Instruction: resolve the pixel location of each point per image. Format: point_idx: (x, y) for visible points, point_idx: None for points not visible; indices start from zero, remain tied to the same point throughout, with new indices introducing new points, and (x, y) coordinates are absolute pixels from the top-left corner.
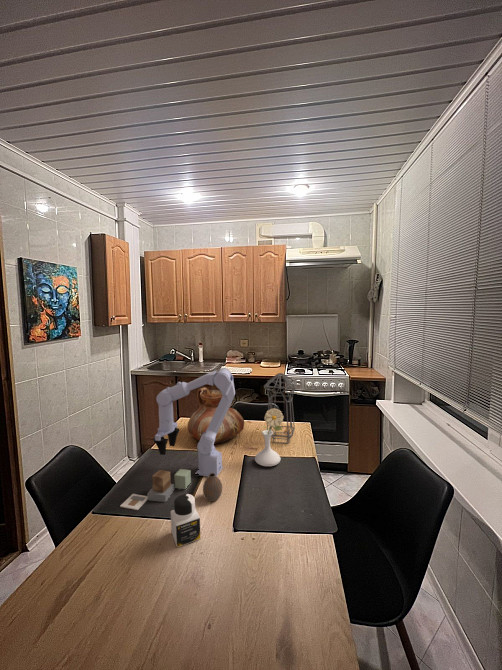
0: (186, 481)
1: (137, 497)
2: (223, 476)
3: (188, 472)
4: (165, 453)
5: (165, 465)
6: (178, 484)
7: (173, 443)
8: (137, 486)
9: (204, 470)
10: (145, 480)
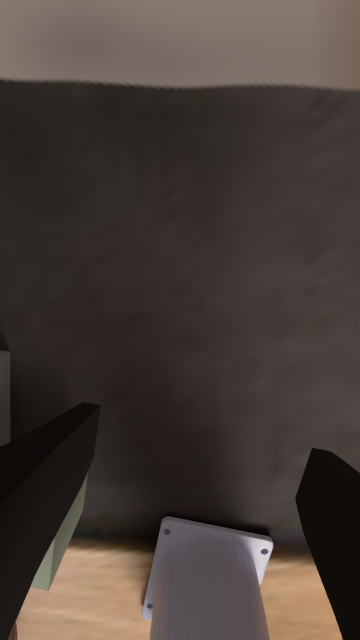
0: None
1: None
2: None
3: None
4: (87, 467)
5: (276, 309)
6: None
7: (311, 527)
8: (8, 216)
9: (155, 593)
10: (80, 241)
